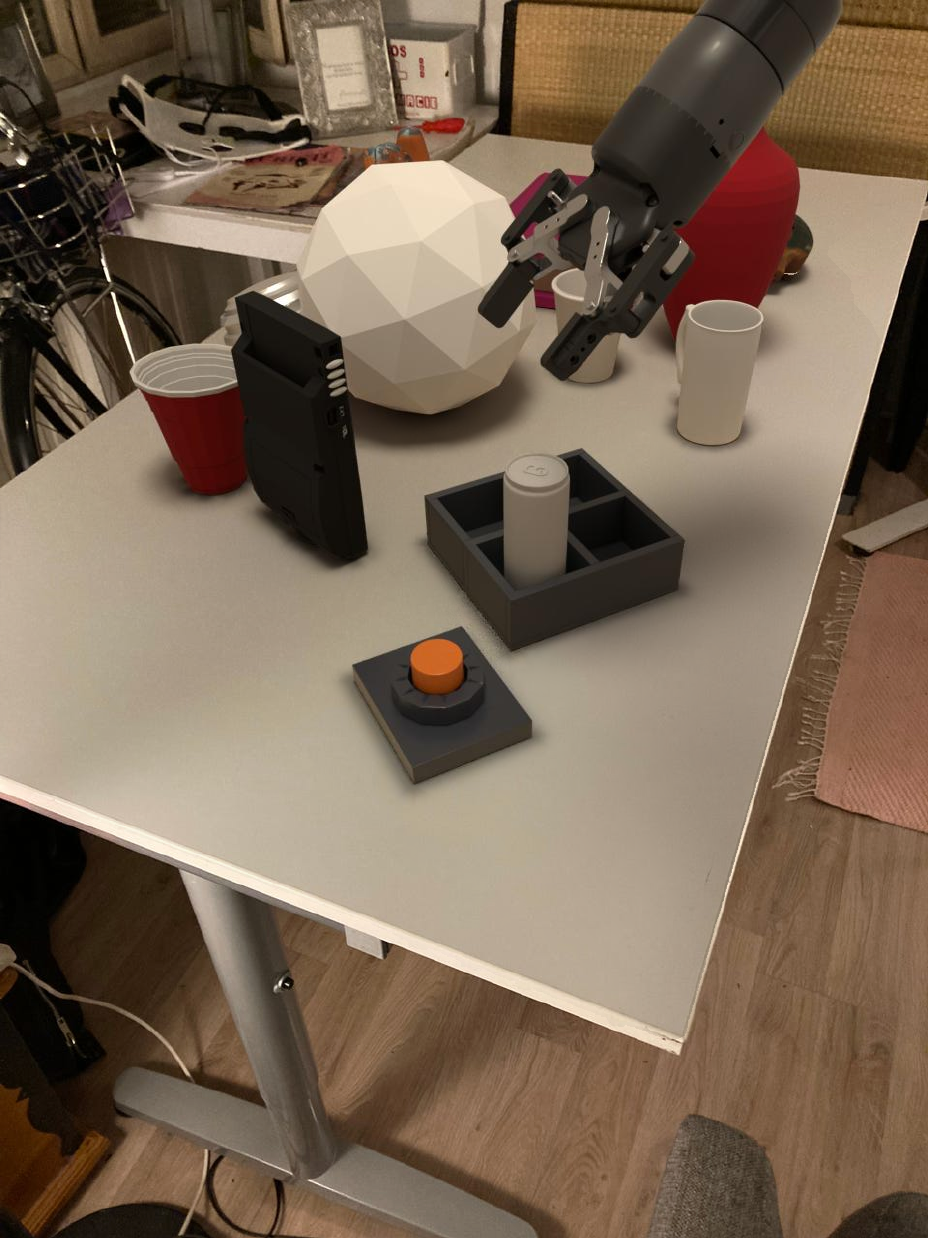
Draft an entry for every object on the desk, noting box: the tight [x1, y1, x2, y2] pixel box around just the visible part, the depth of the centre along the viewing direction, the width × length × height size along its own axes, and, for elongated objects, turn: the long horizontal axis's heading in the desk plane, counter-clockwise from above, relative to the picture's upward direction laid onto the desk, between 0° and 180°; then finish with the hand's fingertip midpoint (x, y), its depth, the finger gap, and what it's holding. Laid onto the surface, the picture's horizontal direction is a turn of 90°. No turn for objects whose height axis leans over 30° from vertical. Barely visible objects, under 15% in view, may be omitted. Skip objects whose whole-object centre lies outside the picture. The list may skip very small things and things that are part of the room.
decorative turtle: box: [771, 213, 814, 284], centre depth 123 cm, size 10×15×8 cm, turn 171°
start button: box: [410, 639, 464, 695], centre depth 67 cm, size 4×4×2 cm
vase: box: [662, 125, 801, 344], centre depth 102 cm, size 15×15×30 cm
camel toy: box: [362, 125, 431, 172], centre depth 127 cm, size 25×13×17 cm, turn 156°
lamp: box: [219, 159, 538, 415], centre depth 99 cm, size 23×35×24 cm, turn 70°
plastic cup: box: [129, 343, 248, 496], centre depth 90 cm, size 11×11×12 cm
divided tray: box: [423, 447, 686, 652], centre depth 80 cm, size 15×15×5 cm
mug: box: [675, 300, 764, 446], centre depth 95 cm, size 10×7×12 cm, turn 24°
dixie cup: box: [552, 268, 622, 384], centre depth 104 cm, size 8×8×10 cm
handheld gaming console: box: [231, 291, 369, 561], centre depth 80 cm, size 12×5×20 cm, turn 42°
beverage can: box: [503, 451, 570, 592], centre depth 74 cm, size 5×5×12 cm
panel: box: [351, 626, 533, 784], centre depth 69 cm, size 11×9×4 cm
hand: (517, 345), depth 63 cm, fingers open, 8 cm apart
